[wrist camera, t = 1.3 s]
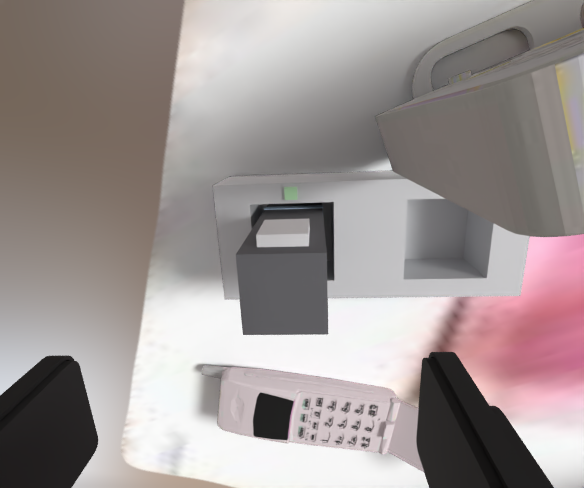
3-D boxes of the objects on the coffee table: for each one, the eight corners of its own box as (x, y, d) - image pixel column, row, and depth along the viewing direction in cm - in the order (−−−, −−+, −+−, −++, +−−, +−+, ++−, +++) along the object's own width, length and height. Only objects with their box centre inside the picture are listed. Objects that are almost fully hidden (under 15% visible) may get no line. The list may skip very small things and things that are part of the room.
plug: (323, 252, 28) (329, 335, 17) (271, 254, 29) (242, 335, 17) (322, 193, 27) (327, 239, 16) (267, 195, 27) (233, 241, 16)
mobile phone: (489, 507, 29) (180, 460, 29) (460, 447, 35) (201, 408, 35) (512, 447, 27) (184, 398, 28) (478, 394, 33) (206, 354, 33)
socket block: (486, 268, 29) (522, 296, 24) (238, 273, 30) (224, 300, 25) (498, 166, 27) (541, 174, 22) (230, 176, 28) (211, 186, 23)
